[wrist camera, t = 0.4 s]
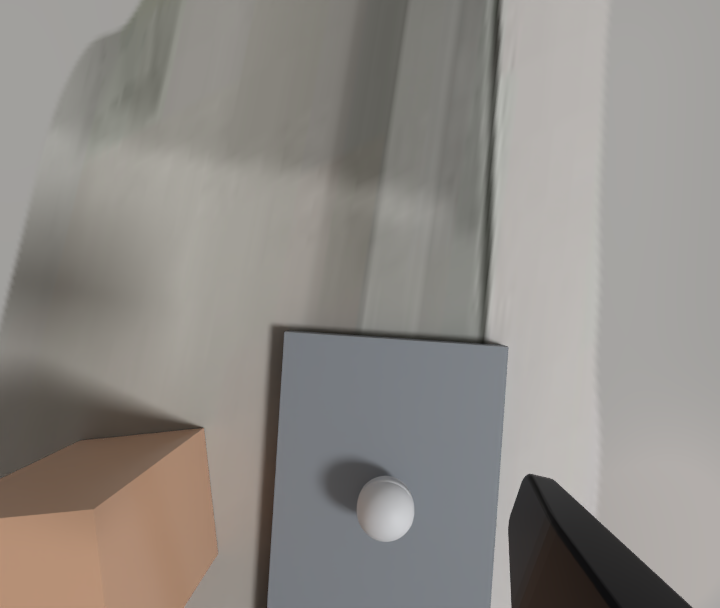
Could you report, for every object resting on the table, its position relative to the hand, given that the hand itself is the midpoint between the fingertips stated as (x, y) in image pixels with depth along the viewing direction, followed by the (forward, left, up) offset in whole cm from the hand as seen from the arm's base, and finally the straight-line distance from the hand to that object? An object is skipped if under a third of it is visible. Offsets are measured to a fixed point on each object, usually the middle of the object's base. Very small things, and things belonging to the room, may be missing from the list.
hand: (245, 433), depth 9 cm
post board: (-2, -7, -17) cm, 18 cm away
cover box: (-11, -1, -17) cm, 20 cm away
